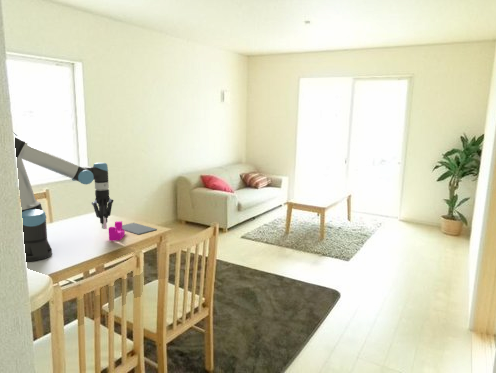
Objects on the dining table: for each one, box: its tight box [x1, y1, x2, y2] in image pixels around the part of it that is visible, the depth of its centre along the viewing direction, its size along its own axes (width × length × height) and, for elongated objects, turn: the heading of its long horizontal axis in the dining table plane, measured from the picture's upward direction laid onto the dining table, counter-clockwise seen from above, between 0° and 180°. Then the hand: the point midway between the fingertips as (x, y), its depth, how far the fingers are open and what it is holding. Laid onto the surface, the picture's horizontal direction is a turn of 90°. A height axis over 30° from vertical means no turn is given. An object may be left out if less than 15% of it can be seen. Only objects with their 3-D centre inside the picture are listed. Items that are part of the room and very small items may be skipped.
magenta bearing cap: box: [108, 220, 126, 242], centre depth 217 cm, size 15×6×8 cm, turn 4°
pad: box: [122, 222, 158, 235], centre depth 234 cm, size 14×24×1 cm, turn 53°
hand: (104, 228), depth 216 cm, fingers closed
